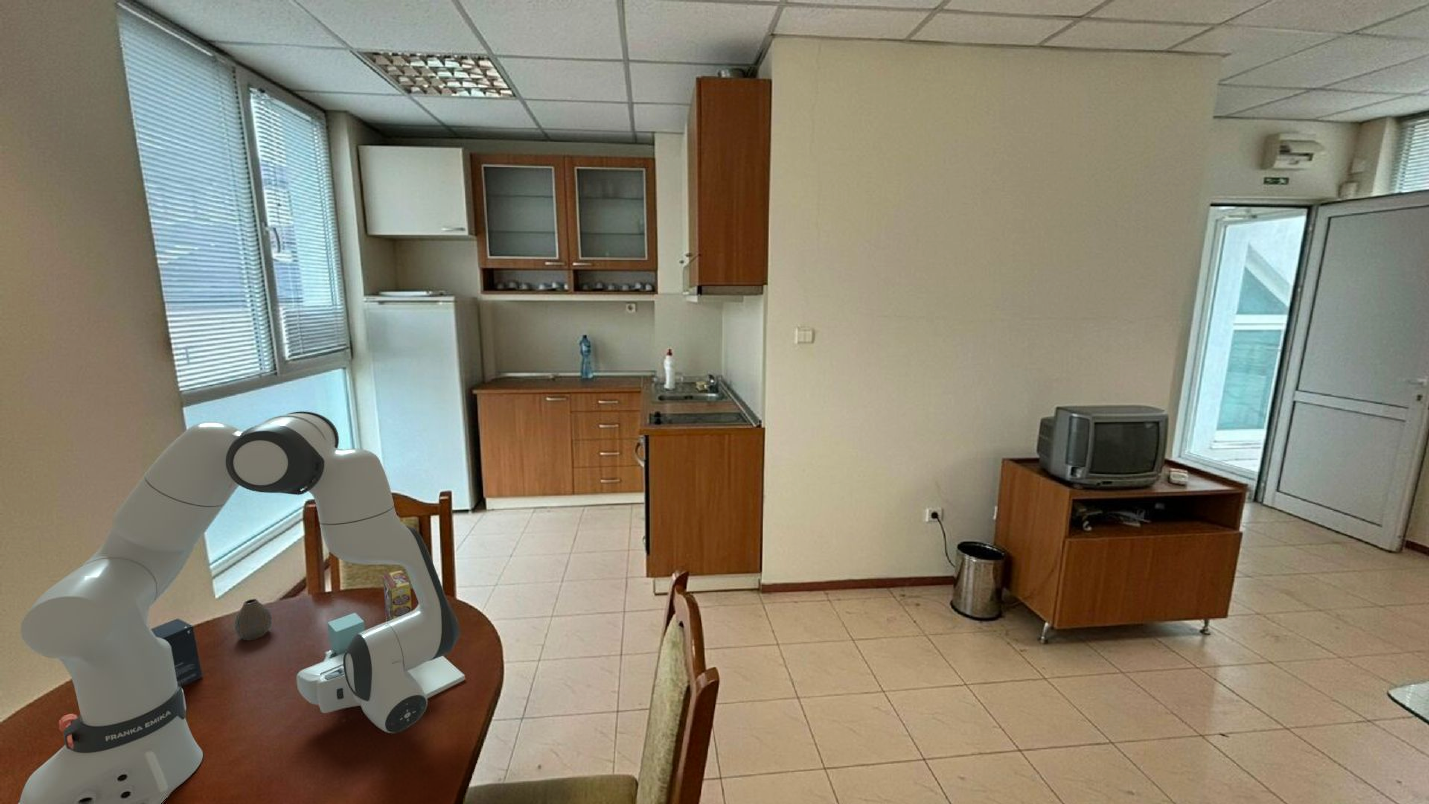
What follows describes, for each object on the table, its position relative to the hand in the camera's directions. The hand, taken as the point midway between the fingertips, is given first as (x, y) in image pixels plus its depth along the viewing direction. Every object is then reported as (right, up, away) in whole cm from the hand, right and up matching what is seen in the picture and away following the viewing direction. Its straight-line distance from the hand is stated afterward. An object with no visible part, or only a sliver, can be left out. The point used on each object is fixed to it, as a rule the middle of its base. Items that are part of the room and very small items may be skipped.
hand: (347, 646), depth 119 cm
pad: (+15, -8, +2) cm, 17 cm away
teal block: (+1, -8, +1) cm, 8 cm away
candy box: (+2, -5, +16) cm, 17 cm away
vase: (-33, -5, +17) cm, 37 cm away
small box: (-38, -8, -2) cm, 38 cm away
